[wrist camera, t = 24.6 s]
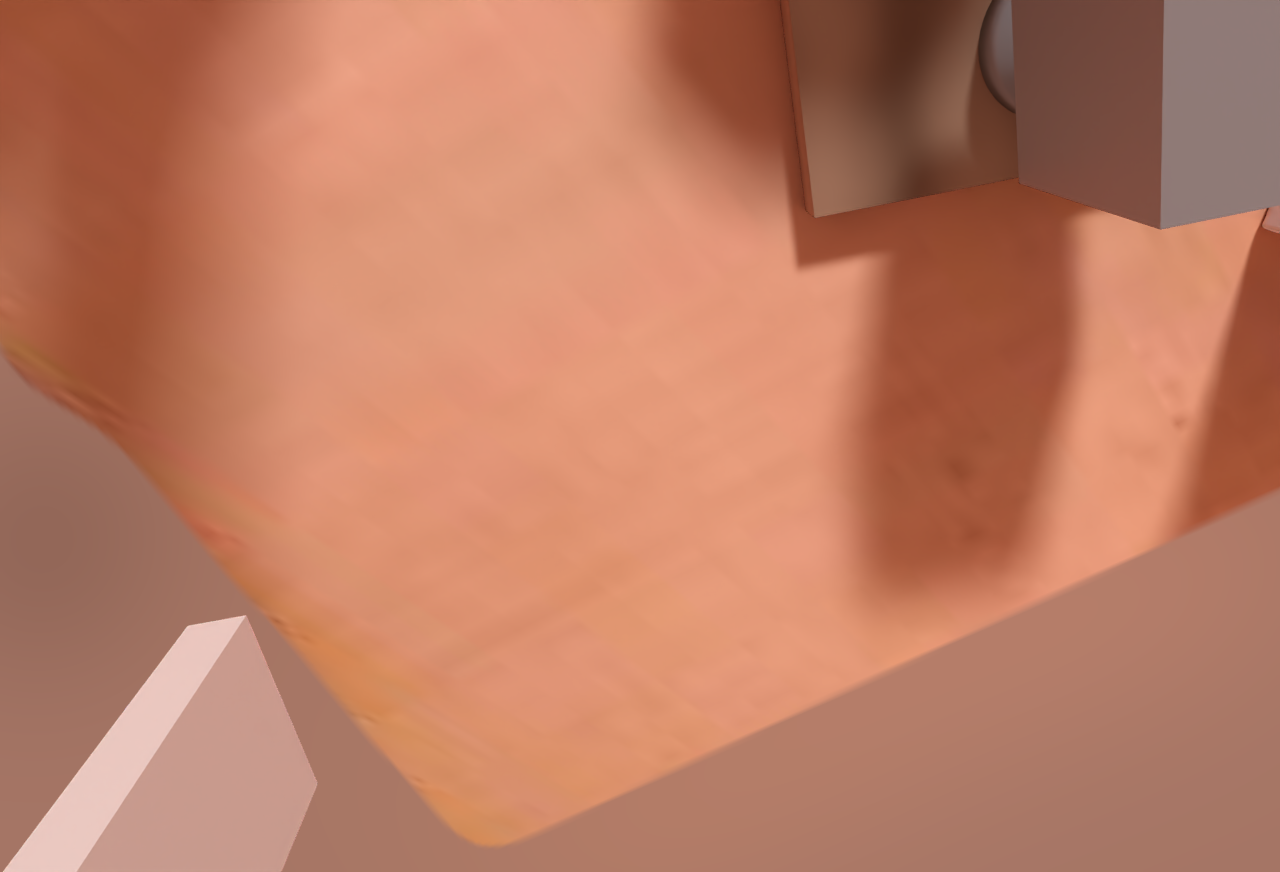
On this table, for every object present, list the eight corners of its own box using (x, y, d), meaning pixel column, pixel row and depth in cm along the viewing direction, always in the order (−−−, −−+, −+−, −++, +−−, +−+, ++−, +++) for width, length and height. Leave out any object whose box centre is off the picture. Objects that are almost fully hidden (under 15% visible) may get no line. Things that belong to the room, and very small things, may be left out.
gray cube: (1018, 183, 32) (1160, 229, 24) (1007, -76, 29) (1166, -128, 20) (1255, 134, 31) (1484, 164, 23) (1269, -134, 28) (1539, -211, 20)
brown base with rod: (805, 210, 40) (915, 302, 25) (774, -45, 36) (882, -113, 21) (1276, 116, 39) (1680, 155, 24) (1295, -157, 35) (1788, -310, 20)
